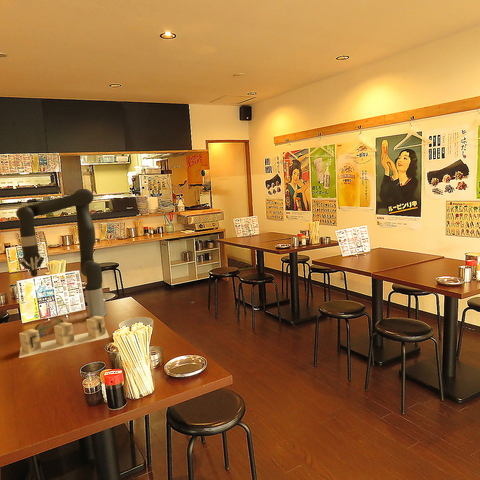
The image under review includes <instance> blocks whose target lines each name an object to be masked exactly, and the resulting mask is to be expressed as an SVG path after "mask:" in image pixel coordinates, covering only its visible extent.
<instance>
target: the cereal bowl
mask: <svg viewBox="0 0 480 480" xmlns="http://www.w3.org/2000/svg"><path fill="white" fill-rule="evenodd" d="M137 322H143V324H144V325H148V324H150V325H151V327H152V329H154V319H152V318H151V317H147V316H139V317H138V316H136V317H130V318H127V319H125V320H123V321H121V322H120V323H119V324H118V330H119V329H120V328H121V327H123V326H127V327H130V326H132V325H133V324H134V323H137Z"/></svg>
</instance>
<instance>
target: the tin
mask: <svg viewBox="0 0 480 480" xmlns="http://www.w3.org/2000/svg"><path fill="white" fill-rule="evenodd" d="M63 322H65V321H64V320H63V318H59V317H54V318H51V319H48V320H46V321H42V322H39V323H38V324H37V325H35V328H34V330H38V331H39V337H40V339H42V338H45V337H47V336H50V335H52V334H55V331H54V326H56V325H58V324H61V323H63Z"/></svg>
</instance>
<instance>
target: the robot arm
mask: <svg viewBox="0 0 480 480" xmlns="http://www.w3.org/2000/svg"><path fill="white" fill-rule="evenodd" d="M94 197H95V196H94V193H93V192H92V191H91V190H89V189H88V188H79V189H77V190H75V192H74V193H72V194H70V195H66V196H62V197H57V198H51V199H47V200H44V201H40V202H37V203H34V204H33V203H32V204H29V205H24V206H21V207H19V208H18V209H16V212H15V214H16V217H17V219H19V225H20V227H19V235H20V245H21V250H22V255H23V257H22V260H21V261H19V264H20V265H21V266H22V267H24V269H25V270H29V271H30V276H31V277H33V278H34V277H37V276H38V268H41V266H42V264H43V261H44V260H45V256H41V255H40V253H39V251H40V250H39V245H38V243H39V242H38V239H37V235H36V229H35V218H36V217H40V216H41V217H42V216H46V215H49V214H53V213H56V212H59V211H62V210H65V209H68V208H72V207H75V212H76V226H77V235H78V236H77V237H78V245H79V253H80V260H79V261H80V263H79V265H80V268H79V269H80V273H81V274H82V276H85V277H86V284H85V285H84V289H85V290H84V291H85V296H86V304H87V312H88V319H89V318H91V317H94V316H101V317H104V318H105V317H106V315H108V312H107V305H106V304H107V303H106V299H105V298H104V294H103V293H104V291H103V286H102V285H103V271H102V267H101V265H100V264H99V263H98V262H95V261H94V253H93V252H94V248H95V245H96V231H95V230H96V228H95V224H94V222H93V219H92V217H91V216H92V215H91V213H90V204H91V203H92V202H93V201H94Z"/></svg>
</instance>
